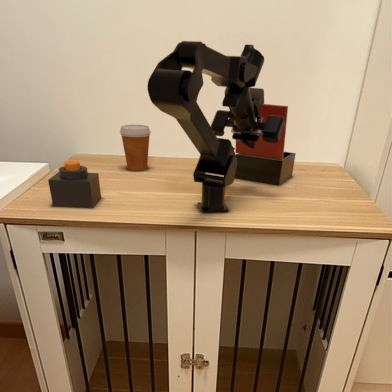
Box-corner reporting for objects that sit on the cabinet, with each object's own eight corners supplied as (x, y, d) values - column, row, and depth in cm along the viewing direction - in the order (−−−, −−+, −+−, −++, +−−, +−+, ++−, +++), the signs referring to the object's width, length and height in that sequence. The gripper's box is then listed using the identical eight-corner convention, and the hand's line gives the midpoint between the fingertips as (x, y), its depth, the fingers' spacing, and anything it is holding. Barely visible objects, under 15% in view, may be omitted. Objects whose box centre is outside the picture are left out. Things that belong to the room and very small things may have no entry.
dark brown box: (249, 169, 135) (251, 147, 131) (292, 176, 130) (295, 153, 126) (234, 178, 126) (235, 154, 122) (279, 185, 121) (282, 160, 117)
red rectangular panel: (237, 101, 112) (236, 102, 112) (288, 105, 107) (287, 106, 107) (236, 152, 122) (235, 153, 121) (283, 158, 117) (282, 159, 116)
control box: (101, 198, 106) (97, 165, 102) (93, 208, 100) (88, 173, 95) (63, 196, 107) (57, 163, 102) (52, 206, 100) (46, 171, 96)
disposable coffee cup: (157, 170, 131) (156, 128, 124) (130, 173, 127) (127, 130, 120) (143, 163, 138) (141, 123, 130) (117, 167, 133) (114, 125, 126)
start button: (82, 168, 100) (81, 161, 99) (78, 172, 97) (77, 164, 96) (68, 168, 100) (66, 160, 99) (63, 171, 97) (62, 163, 96)
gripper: (289, 77, 96) (295, 124, 110) (217, 73, 103) (232, 118, 117) (273, 119, 95) (281, 161, 109) (202, 112, 102) (218, 152, 116)
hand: (253, 147), depth 113 cm, fingers closed
